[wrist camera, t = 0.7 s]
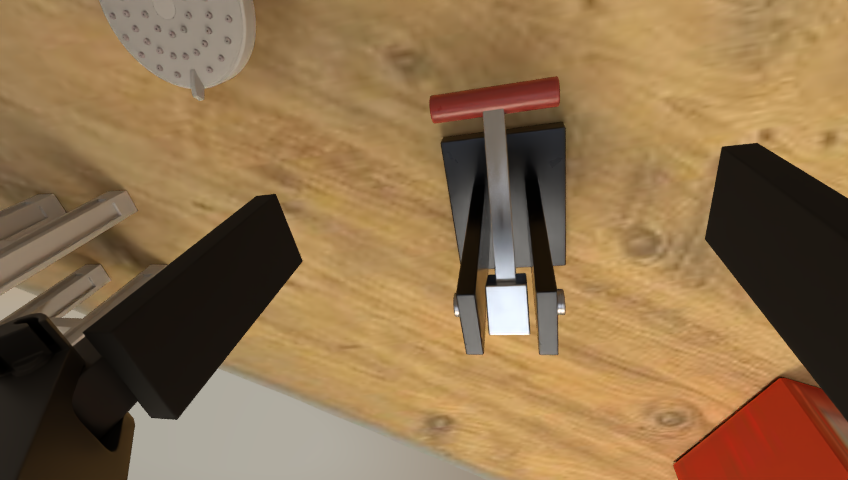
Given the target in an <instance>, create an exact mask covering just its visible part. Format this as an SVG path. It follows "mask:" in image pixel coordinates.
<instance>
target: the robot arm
mask: <svg viewBox="0 0 848 480" xmlns="http://www.w3.org/2000/svg"><path fill="white" fill-rule="evenodd" d="M705 240H706V241H707V242H708V244H709V245H710V246H711V248H712V249H713V250H714V251H715V253H716V254H717V255H718V256H719V258H720V259H721V260H722V262H723V263H724V264H725V265H726V267H727V268H728V269H729V271H730V272H731V273H732V274H733V276H734V277H735V278H736V280H737V281H738V282H739V283H740V285H741V286H742V287H743V288H744V290H745V291H746V292H747V294H748V295H749V296H750V297H751V299H752V300H753V301H754V303H755V304H756V305H757V306H758V308H759V309H760V310H761V312H762V313H763V314H764V315H765V317H766V318H767V319H768V321H769V322H770V323H771V324H772V326H773V327H774V328H775V329H776V331H777V332H778V333H779V335H780V336H781V337H782V338H783V340H784V341H785V342H786V344H787V345H788V346H789V347H790V349H791V350H792V351H793V353H794V354H795V355H796V356H797V358H798V359H799V360H800V362H801V363H802V364H803V365H804V367H805V368H806V369H807V370H808V372H809V373H810V374H811V376H812V377H813V378H814V379H815V381H816V382H817V383H818V385H819V386H820V387H821V388H822V390H823V391H824V392H825V394H826V395H827V396H828V397H829V399H830V400H831V401H832V403H833V404H834V405H835V406H836V408H837V409H838V410H839V411H840V413H841V414H842V415H843V417H844V418H845V419H846V420H847V422H848V198H846V197H845V196H843V195H841V194H840V193H838V192H837V191H835V190H833V189H832V188H830V187H828V186H827V185H825V184H823V183H822V182H820V181H819V180H817V179H815V178H814V177H812V176H810V175H809V174H807V173H805V172H804V171H802V170H801V169H799V168H797V167H796V166H794V165H792V164H791V163H789V162H787V161H786V160H784V159H783V158H781V157H779V156H778V155H776V154H774V153H773V152H771V151H769V150H768V149H766V148H765V147H763V146H761V145H760V144H758V143H753V144H743V145H734V146H724V147H722V149H721V154H720V160H719V165H718V171H717V176H716V182H715V187H714V192H713V198H712V203H711V209H710V214H709V220H708V225H707V230H706V236H705ZM301 263H302V258H301V256H300V253H299V251H298V248H297V246H296V243H295V241H294V238H293V236H292V233H291V231H290V228H289V226H288V223H287V221H286V218H285V216H284V213H283V211H282V208H281V206H280V203H279V201H278V198H277V196H276V194H271V195H261V196H256V197H254V198H253V199H252V200H251V201H249V202H248V203H247V204H246V205H244V206H243V207H242V208H240V209H239V210H238V211H237V212H235V213H234V214H233V215H231V216H230V217H229V218H228V219H226V220H225V221H224V222H223V223H221V224H220V225H219V226H217V227H216V228H215V229H214V230H212V231H211V232H210V233H208V234H207V235H206V236H205V237H203V238H202V239H201V240H200V241H198V242H197V243H196V244H194V245H193V246H192V247H191V248H189V249H188V250H187V251H186V252H184V253H183V254H182V255H180V256H179V257H178V258H177V259H175V260H174V261H173V262H171V263H170V264H169V265H168V266H166V267H165V268H164V269H163V270H161V271H160V272H159V273H157V274H156V275H155V276H154V277H152V278H151V279H150V280H148V281H147V282H146V283H145V284H143V285H142V286H141V287H140V288H138V289H137V290H136V291H134V292H133V293H132V294H131V295H129V296H128V297H127V298H125V299H124V300H123V301H122V302H120V303H119V304H118V305H117V306H115V307H114V308H113V309H111V310H110V311H109V312H108V313H106V314H105V315H104V316H102V317H101V318H100V319H99V320H97V321H96V322H95V323H94V324H92V325H91V326H90V327H88V328H87V329H86V330H85V331H83V332H82V333H83V334H84V335H85V337H84V338H82V339H81V340H80V341H78V342H77V343H76V344H75V345H73V346H72V345H71V344H70V342H69V341H68V340H67V339H66V338H65V337H64V335H63V334H62V333H61V332H60V331H59V329H58V328H57V327H56V326H55V325H54V323H53V322H52V321H51V320H50V319H49V318H48V316H47V315H46V314H43V313H34V314H29V315H26V316H22V317H19V318H16V319H14V320H12V321H9V322H7V323H5V324H2V325H1V326H0V480H127V477H128V470H129V463H130V456H131V449H132V442H133V435H134V428H135V423H134V419H133V417H132V416H131V415H130V414H129V412H128V411H129V410H130V409H131V408H132V407H133V406H134V405H135V403H136V402H137V401H138V402H139V403H140V404H141V406H142V407H143V408H144V410H145V411H146V412H147V413H148V415H149V416H150V417H151V418H160V419H175V420H177V419H178V418H179V417H180V415H181V414H182V413H183V411H184V410H185V409H186V407H187V406H188V405H189V404H190V403H191V401H192V400H193V399H194V398H195V396H196V395H197V394H198V393H199V391H200V390H201V389H202V387H203V386H204V385H205V384H206V383H207V381H208V380H209V379H210V377H211V376H212V375H213V374H214V372H215V371H216V370H217V369H218V367H219V366H220V365H221V364H222V362H223V361H224V360H225V359H226V357H227V356H228V355H229V353H230V352H231V351H232V350H233V348H234V347H235V346H236V345H237V343H238V342H239V341H240V340H241V338H242V337H243V336H244V335H245V333H246V332H247V331H248V329H249V328H250V327H251V326H252V324H253V323H254V322H255V321H256V319H257V318H258V317H259V316H260V314H261V313H262V312H263V311H264V309H265V308H266V307H267V306H268V304H269V303H270V302H271V300H272V299H273V298H274V297H275V295H276V294H277V293H278V292H279V290H280V289H281V288H282V287H283V285H284V284H285V283H286V282H287V280H288V279H289V278H290V276H291V275H292V274H293V273H294V271H295V270H296V269H297V268H298V266H299V265H300V264H301Z"/></svg>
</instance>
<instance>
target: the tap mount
mask: <svg viewBox="0 0 848 480" xmlns="http://www.w3.org/2000/svg"><path fill="white" fill-rule="evenodd" d="M506 137H507V151H508V165H509V180H510V194H511V208H512V223H513V237H514V251H515V265H516V268H518V267H531V273H532V283H533V294H534V305H535V315H536V326H537V336H538V347H539V354H540V355H558V315H565V296H564V291H563V289H557V286H556V280H555V275H554V269H553V266H560V265H566V128H565V125H564V123H563V122H557V123H549V124H541V125H534V126H526V127H518V128H510V129H506ZM441 148H442V154H443V160H444V167H445V173H446V179H447V185H448V191H449V197H450V203H451V209H452V215H453V221H454V228H455V234H456V240H457V246H458V252H459V258H460V264H461V265H460V272H459V278H458V284H457V291H456V293H455V294H454V300H453V305H454V313H455V316H456V317H460V321H461V327H462V332H463V338H464V344H465V349H466V354H473V355H483V354H484V341H485V323H486V294H485V285H486V281H487V277H488V270H489V269H495V265H494V252H493V239H492V227H491V214H490V201H489V188H488V176H487V163H486V150H485V137H484V132H479V133H471V134H464V135H456V136H448V137H443V139H442V141H441Z"/></svg>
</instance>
